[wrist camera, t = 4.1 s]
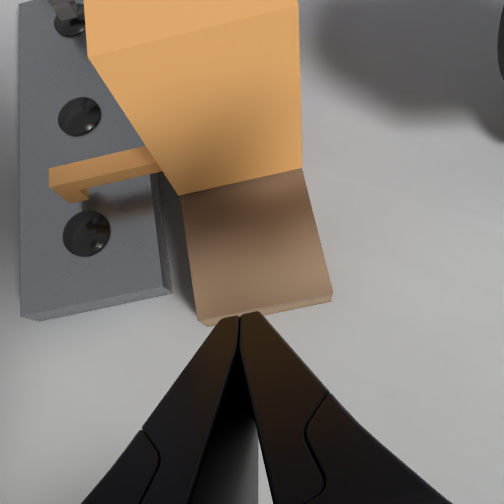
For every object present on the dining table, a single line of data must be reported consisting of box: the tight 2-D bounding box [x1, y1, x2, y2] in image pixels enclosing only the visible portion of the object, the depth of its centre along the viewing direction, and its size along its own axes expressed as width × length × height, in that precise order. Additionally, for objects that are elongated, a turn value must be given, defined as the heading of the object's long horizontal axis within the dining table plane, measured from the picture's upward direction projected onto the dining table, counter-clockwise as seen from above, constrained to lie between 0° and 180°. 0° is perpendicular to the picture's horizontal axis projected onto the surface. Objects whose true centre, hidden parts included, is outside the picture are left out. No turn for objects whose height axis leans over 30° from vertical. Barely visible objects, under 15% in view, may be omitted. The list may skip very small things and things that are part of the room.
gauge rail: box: [47, 0, 333, 327], centre depth 19 cm, size 21×12×12 cm, turn 10°
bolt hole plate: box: [19, 0, 172, 321], centre depth 24 cm, size 20×7×2 cm, turn 10°
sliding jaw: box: [49, 0, 302, 204], centre depth 17 cm, size 3×12×9 cm, turn 101°
